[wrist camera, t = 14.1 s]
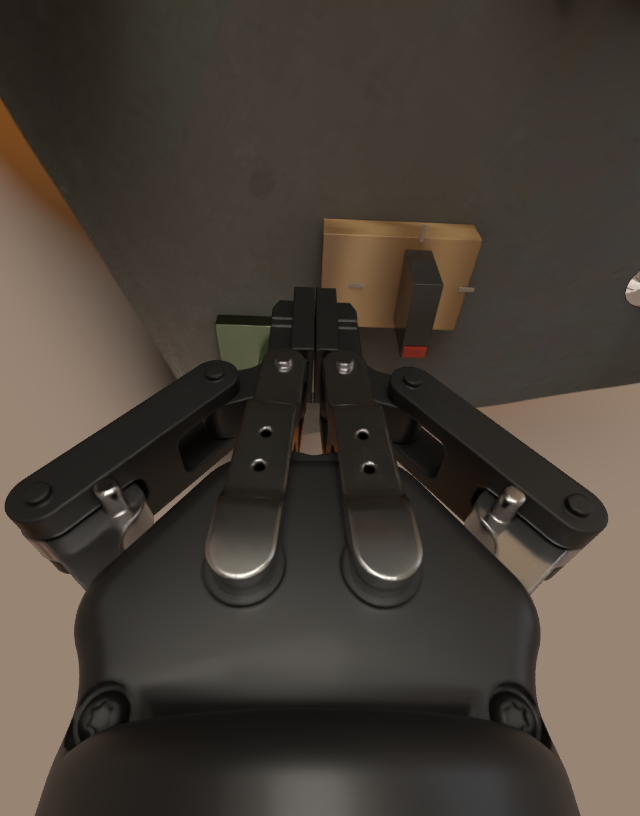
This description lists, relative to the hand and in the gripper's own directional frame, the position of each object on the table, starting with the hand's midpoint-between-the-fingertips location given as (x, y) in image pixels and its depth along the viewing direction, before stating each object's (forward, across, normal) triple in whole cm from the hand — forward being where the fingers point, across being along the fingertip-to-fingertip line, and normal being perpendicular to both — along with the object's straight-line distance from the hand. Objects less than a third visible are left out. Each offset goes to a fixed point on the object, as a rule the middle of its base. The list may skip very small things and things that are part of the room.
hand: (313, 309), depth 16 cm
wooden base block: (+24, -8, +11) cm, 27 cm away
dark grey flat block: (+21, -9, +11) cm, 25 cm away
